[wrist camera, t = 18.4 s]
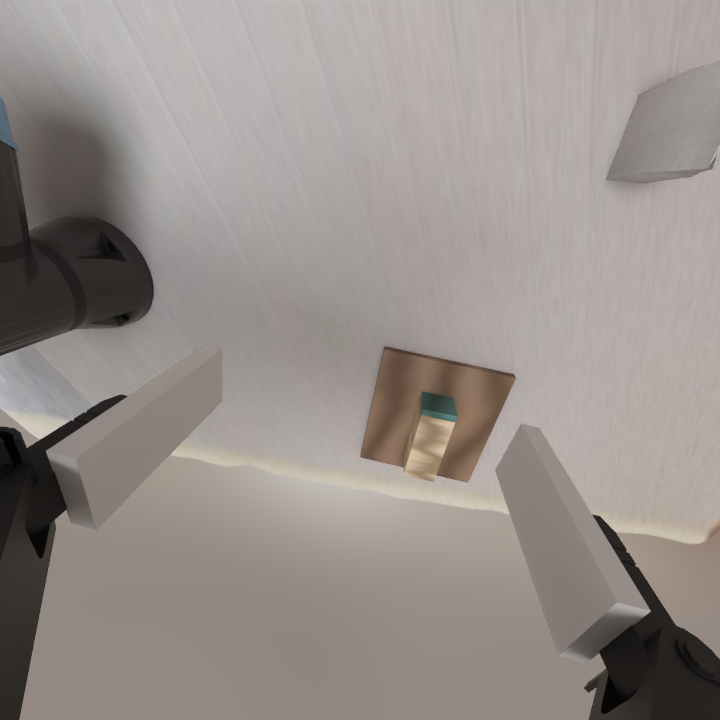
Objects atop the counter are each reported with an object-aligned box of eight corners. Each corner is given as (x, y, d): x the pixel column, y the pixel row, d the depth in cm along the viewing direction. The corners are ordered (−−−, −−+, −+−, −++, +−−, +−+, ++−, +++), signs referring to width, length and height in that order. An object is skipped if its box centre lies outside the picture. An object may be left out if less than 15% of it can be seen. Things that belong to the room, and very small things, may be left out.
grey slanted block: (605, 179, 32) (681, 166, 23) (638, 96, 29) (740, 43, 20) (644, 182, 31) (736, 171, 23) (681, 98, 28) (804, 46, 20)
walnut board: (361, 452, 52) (360, 457, 51) (384, 346, 43) (384, 349, 42) (466, 478, 51) (467, 482, 50) (513, 374, 42) (515, 377, 41)
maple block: (431, 459, 49) (453, 397, 44) (433, 481, 45) (457, 416, 40) (404, 453, 50) (422, 391, 44) (403, 474, 46) (423, 409, 40)
